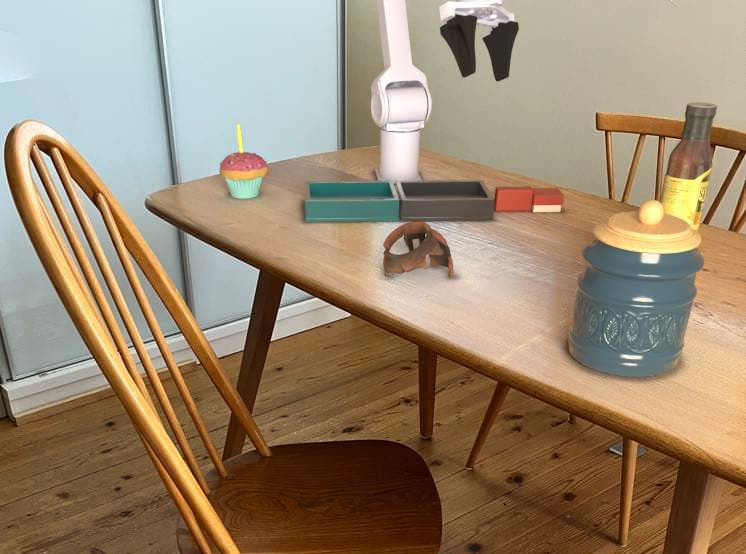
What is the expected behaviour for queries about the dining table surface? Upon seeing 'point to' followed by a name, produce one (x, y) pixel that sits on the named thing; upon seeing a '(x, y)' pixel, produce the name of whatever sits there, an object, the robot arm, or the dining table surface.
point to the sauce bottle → (690, 166)
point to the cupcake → (243, 171)
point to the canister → (635, 293)
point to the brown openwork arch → (416, 249)
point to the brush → (528, 199)
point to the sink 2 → (444, 200)
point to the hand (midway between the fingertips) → (485, 77)
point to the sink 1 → (351, 201)
